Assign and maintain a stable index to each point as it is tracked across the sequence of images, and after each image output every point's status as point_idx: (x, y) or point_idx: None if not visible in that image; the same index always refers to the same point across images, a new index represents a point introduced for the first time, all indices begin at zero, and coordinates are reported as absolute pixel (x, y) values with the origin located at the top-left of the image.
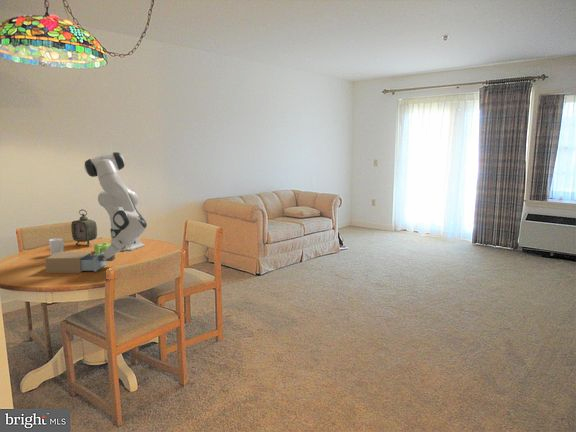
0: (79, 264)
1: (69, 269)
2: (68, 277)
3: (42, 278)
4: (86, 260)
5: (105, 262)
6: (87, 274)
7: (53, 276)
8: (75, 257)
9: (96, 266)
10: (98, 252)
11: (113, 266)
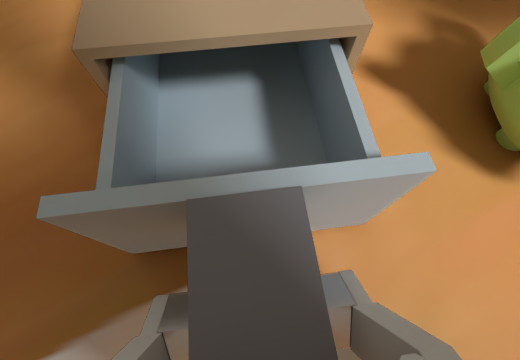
0: None
1: None
2: (34, 128)
3: (47, 19)
4: (105, 123)
5: (358, 219)
6: None
7: None
8: (113, 5)
9: (141, 242)
10: (501, 55)
11: None
